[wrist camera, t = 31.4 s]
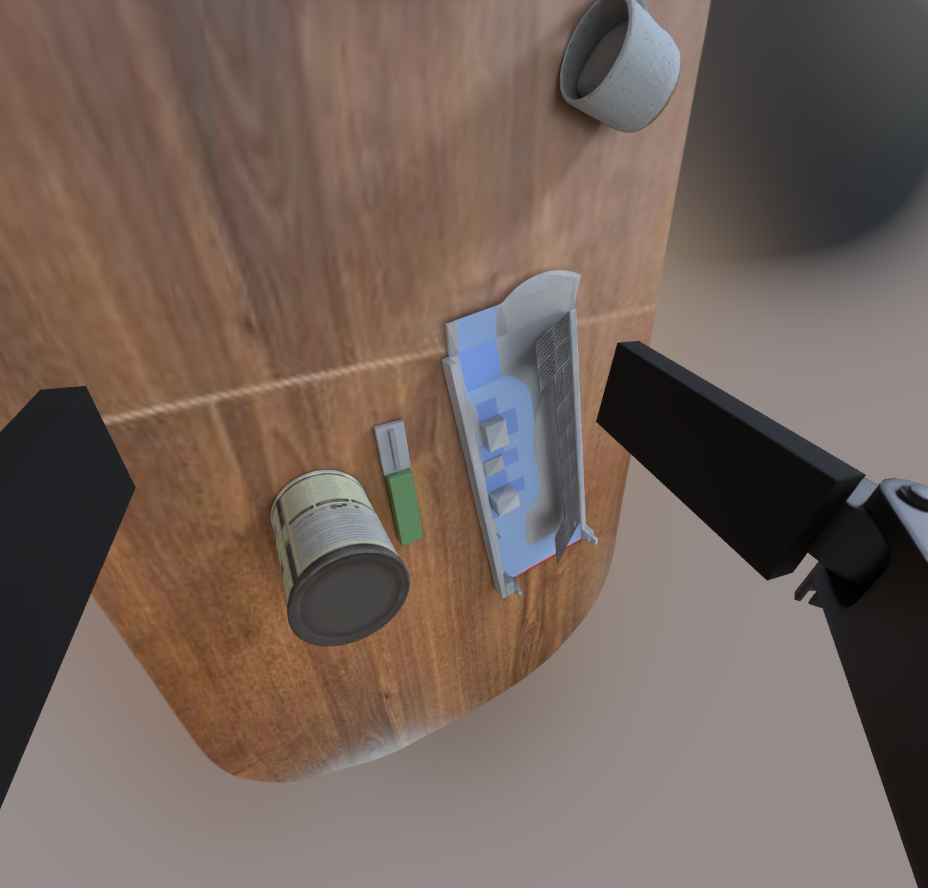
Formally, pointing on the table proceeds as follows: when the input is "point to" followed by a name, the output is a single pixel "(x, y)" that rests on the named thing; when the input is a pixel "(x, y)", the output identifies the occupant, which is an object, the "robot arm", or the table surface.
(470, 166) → the table surface
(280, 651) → the table surface
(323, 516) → the coffee can
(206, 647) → the table surface
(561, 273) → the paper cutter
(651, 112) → the ceramic mug
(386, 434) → the green peeler
